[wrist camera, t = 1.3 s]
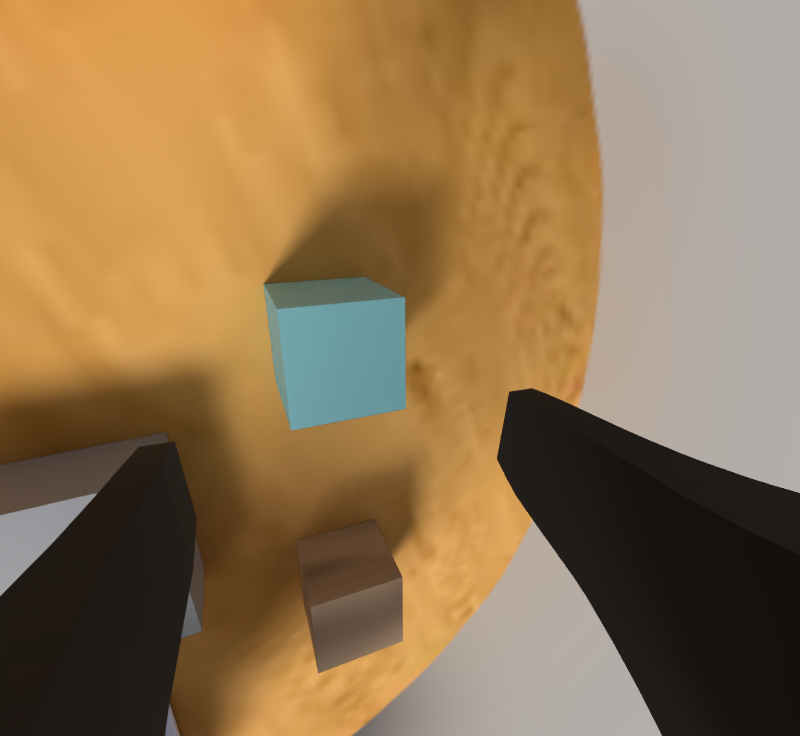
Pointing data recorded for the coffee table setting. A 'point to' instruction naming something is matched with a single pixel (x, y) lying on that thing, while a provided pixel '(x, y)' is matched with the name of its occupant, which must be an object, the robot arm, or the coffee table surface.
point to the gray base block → (67, 508)
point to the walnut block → (350, 593)
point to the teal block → (337, 349)
